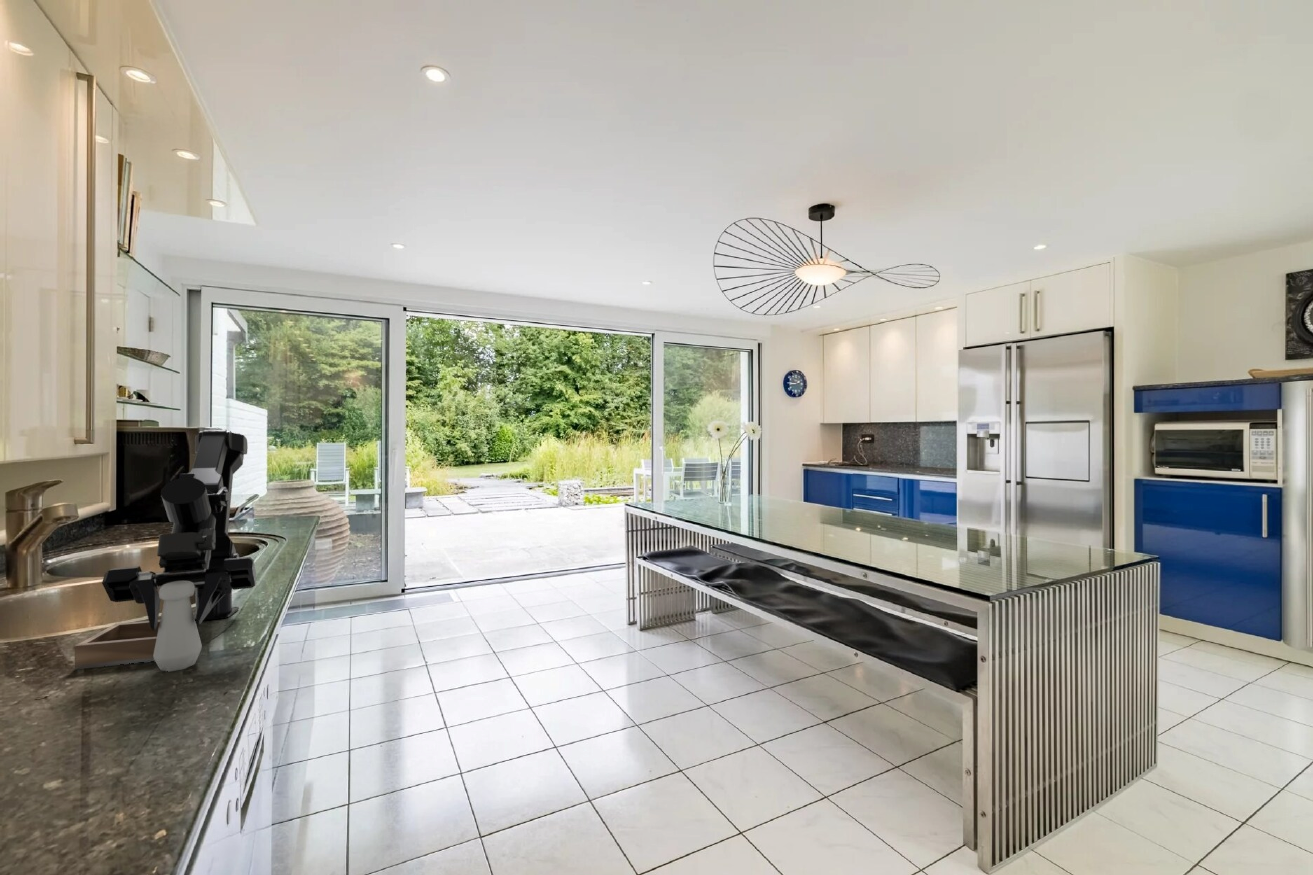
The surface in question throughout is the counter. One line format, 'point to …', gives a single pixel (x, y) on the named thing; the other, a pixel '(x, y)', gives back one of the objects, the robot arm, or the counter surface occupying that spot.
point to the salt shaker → (177, 628)
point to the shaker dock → (117, 646)
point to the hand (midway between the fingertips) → (175, 626)
